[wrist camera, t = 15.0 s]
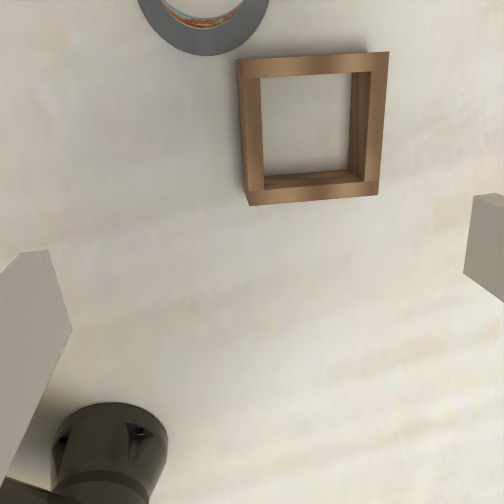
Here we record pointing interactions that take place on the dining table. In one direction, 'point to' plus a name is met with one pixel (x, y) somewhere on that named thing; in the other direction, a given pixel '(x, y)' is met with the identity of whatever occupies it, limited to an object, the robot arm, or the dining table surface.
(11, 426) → the robot arm
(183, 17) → the milk bottle
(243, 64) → the walnut pocket
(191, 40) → the slate coaster
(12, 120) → the dining table surface
